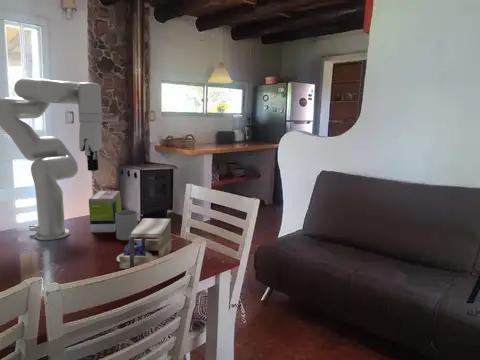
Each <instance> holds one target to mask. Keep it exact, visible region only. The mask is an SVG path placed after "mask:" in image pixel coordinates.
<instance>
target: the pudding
mask: <svg viewBox="0 0 480 360" xmlns="http://www.w3.org/2000/svg"><path fill="white" fill-rule="evenodd" d="M134 252H135V256H153V254H152V253H151V252H149V251H144V247H143V245H142V244H141V243H138V242H136V243H135V242H134ZM119 256H129V243H127V244H126V245H125V247H124V250H123V252H122V253H120V254H119V255H117V257H116V261H117V262H119ZM119 263H120V262H119Z"/></svg>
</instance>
